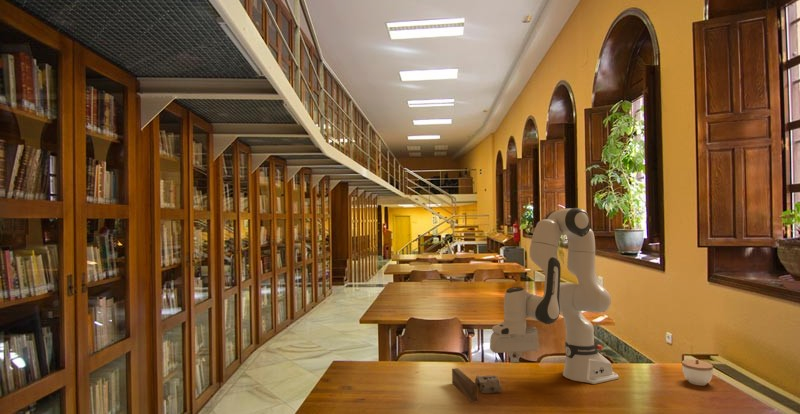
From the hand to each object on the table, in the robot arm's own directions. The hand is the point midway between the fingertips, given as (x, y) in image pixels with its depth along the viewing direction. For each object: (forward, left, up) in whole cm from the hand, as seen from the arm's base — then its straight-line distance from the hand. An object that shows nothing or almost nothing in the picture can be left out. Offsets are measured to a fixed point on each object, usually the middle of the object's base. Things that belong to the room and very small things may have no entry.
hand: (514, 362), depth 187 cm
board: (+22, 0, -10) cm, 24 cm away
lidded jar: (-73, +16, -10) cm, 76 cm away
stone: (+11, -1, -10) cm, 15 cm away
